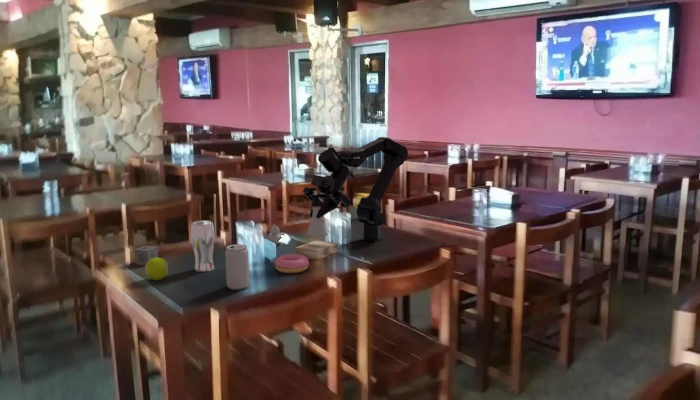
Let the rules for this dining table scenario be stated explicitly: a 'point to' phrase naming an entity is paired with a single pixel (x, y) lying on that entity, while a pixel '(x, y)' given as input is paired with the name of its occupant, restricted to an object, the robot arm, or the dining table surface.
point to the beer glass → (203, 244)
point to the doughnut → (291, 263)
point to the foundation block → (317, 249)
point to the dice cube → (145, 254)
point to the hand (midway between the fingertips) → (314, 217)
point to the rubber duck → (275, 234)
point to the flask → (316, 225)
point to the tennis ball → (156, 268)
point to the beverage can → (237, 266)
